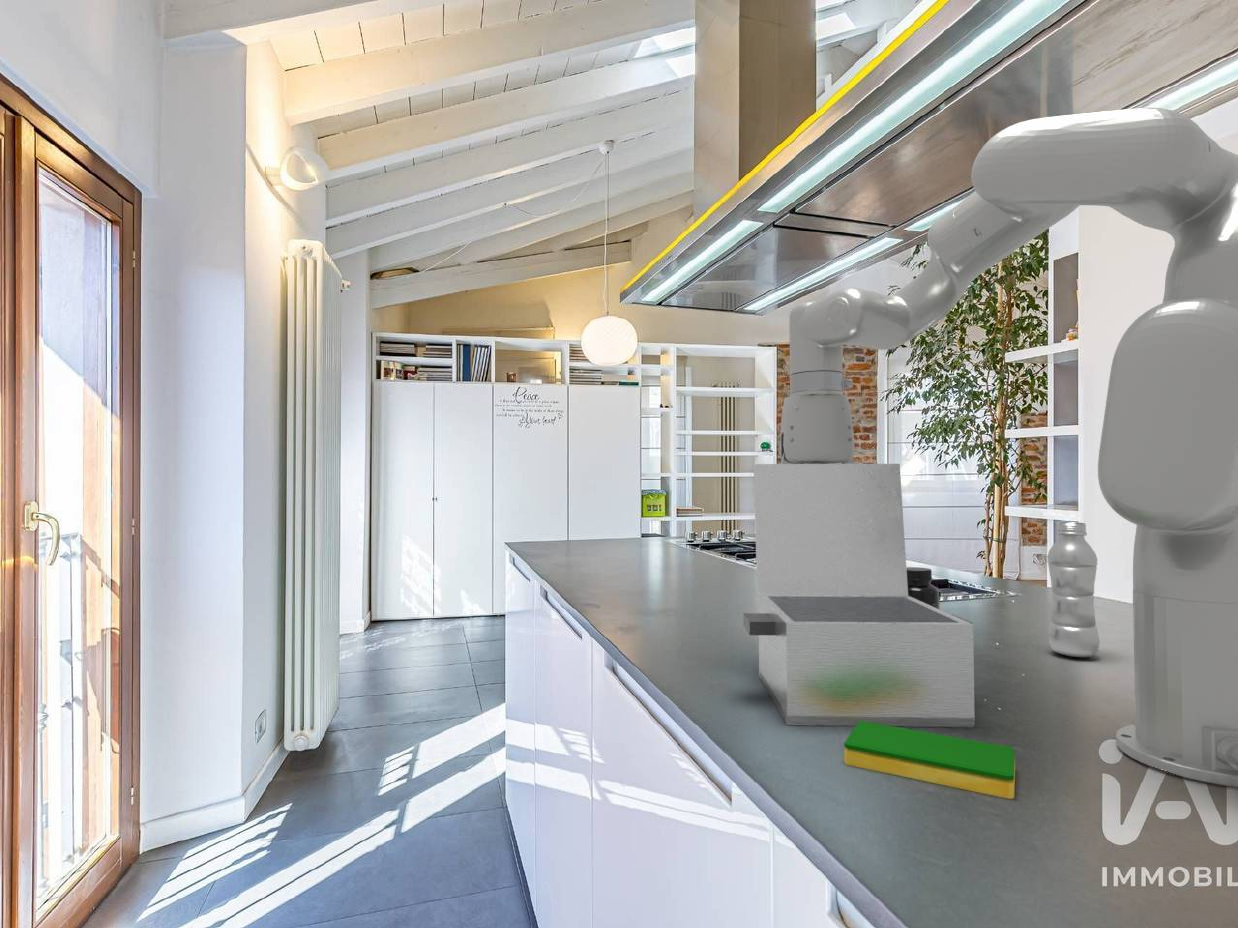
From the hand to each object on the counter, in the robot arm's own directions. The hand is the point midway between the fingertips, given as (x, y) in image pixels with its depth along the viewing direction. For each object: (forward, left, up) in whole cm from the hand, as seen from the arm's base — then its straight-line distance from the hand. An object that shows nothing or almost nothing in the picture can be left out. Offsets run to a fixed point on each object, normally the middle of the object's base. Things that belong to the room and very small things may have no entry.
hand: (817, 511), depth 99 cm
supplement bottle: (+12, -19, -22) cm, 32 cm away
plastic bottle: (+4, -39, -22) cm, 45 cm away
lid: (-7, 0, -2) cm, 7 cm away
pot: (-17, 0, -22) cm, 28 cm away
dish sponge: (-36, -1, -23) cm, 42 cm away
